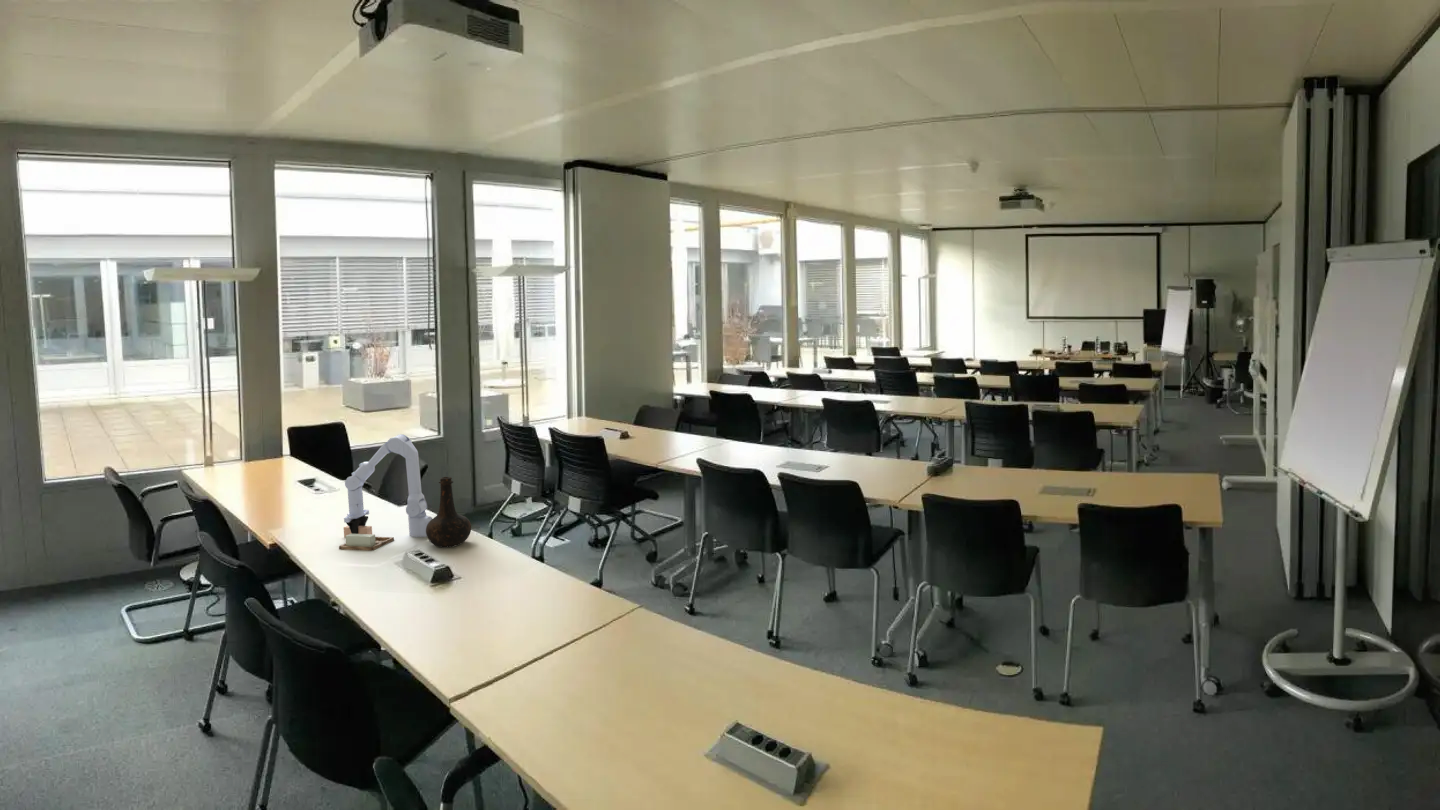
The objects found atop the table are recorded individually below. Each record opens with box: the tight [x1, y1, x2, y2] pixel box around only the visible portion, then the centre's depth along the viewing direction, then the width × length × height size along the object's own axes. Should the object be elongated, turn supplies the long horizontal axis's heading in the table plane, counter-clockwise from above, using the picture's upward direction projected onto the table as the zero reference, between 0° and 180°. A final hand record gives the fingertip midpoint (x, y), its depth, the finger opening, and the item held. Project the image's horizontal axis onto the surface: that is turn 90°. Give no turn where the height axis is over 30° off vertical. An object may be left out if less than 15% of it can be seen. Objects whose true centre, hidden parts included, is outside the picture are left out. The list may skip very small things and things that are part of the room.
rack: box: [338, 536, 395, 551], centre depth 349 cm, size 15×15×2 cm
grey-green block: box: [344, 533, 376, 547], centre depth 345 cm, size 11×4×5 cm, turn 78°
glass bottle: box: [426, 476, 472, 548], centre depth 347 cm, size 18×18×28 cm
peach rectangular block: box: [343, 525, 373, 538], centre depth 362 cm, size 11×4×5 cm, turn 78°
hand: (358, 534), depth 362 cm, fingers closed on peach rectangular block, 3 cm apart
